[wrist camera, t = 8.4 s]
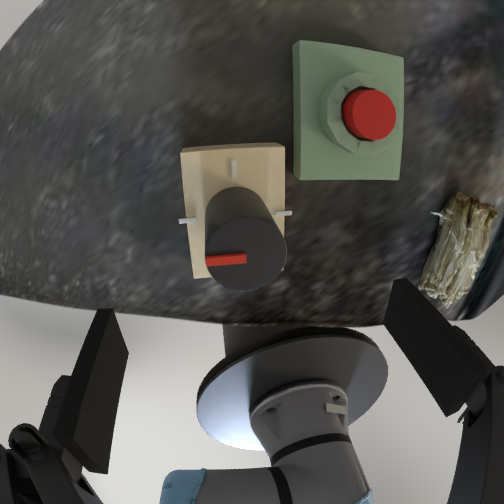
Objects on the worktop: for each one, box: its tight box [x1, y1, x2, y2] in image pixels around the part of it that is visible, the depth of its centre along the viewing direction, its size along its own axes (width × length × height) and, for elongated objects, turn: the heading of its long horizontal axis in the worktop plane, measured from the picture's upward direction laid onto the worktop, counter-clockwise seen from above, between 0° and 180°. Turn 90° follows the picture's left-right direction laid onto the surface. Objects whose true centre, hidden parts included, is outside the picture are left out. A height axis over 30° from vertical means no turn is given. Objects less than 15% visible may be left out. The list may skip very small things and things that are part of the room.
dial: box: [205, 187, 287, 291], centre depth 21 cm, size 5×5×7 cm
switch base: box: [292, 40, 404, 180], centre depth 23 cm, size 12×10×4 cm
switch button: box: [343, 90, 396, 140], centre depth 20 cm, size 4×4×2 cm
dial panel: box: [179, 142, 292, 278], centre depth 26 cm, size 11×9×3 cm
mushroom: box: [418, 192, 497, 309], centre depth 30 cm, size 14×10×5 cm, turn 175°
